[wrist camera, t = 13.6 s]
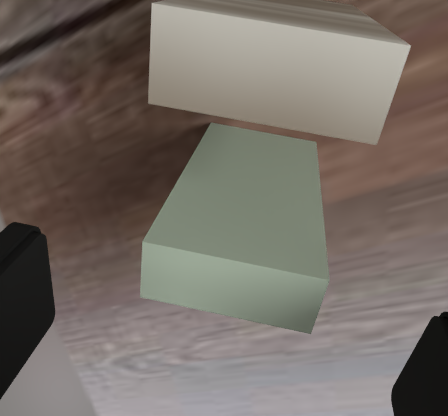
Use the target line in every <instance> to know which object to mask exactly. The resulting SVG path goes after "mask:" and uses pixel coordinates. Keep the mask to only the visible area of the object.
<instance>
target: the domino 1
mask: <svg viewBox="0 0 448 416" xmlns="http://www.w3.org/2000/svg"><path fill="white" fill-rule="evenodd" d="M410 47H411V45H409V44H408V43H406V42H405V41H403V40H402V39H400V38H399V37H398V36H396V35H395V34H393V33H392V32H390V31H389V30H388V29H386V28H385V27H383V26H382V25H380V24H379V23H377V22H376V21H375V20H373V19H372V18H370V17H369V16H367V15H366V14H365V13H363V12H362V11H360V10H359V9H357V8H356V7H354V6H353V5H349V4H343V3H336V2H330V1H324V0H163V1H159V2H154V3H152V12H151V38H150V64H149V91H148V104H154V105H159V106H165V107H170V108H176V109H181V110H187V111H192V112H198V113H203V114H209V115H214V116H220V117H225V118H231V119H236V120H242V121H247V122H253V123H258V124H264V125H269V126H275V127H280V128H286V129H291V130H297V131H302V132H308V133H313V134H319V135H324V136H330V137H335V138H341V139H347V140H352V141H358V142H363V143H369V144H374V145H377V142H378V139H379V137H380V134H381V131H382V128H383V125H384V122H385V119H386V116H387V113H388V111H389V108H390V105H391V102H392V99H393V96H394V93H395V90H396V87H397V85H398V82H399V79H400V76H401V73H402V70H403V67H404V64H405V61H406V59H407V56H408V53H409V50H410Z"/></svg>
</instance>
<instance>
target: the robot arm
mask: <svg viewBox="0 0 448 416" xmlns="http://www.w3.org/2000/svg"><path fill="white" fill-rule="evenodd" d="M54 317H55V305H54V297H53V289H52V281H51V272H50V264H49V256H48V248H47V240H46V236H45V235H44V234H41V231H40V229H39V228H38V227H36V226H31V225H27V224H22V223H17V222H13V223H11V224H9V225H8V226H7V227H6V228H5V229H4V230H3V231H2V232H0V399H1V398H2V396H3V395H4V393H5V392H6V390H7V389H8V388H9V386H10V385H11V383H12V382H13V380H14V379H15V377H16V376H17V374H18V373H19V371H20V370H21V369H22V367H23V366H24V364H25V363H26V361H27V360H28V358H29V357H30V355H31V354H32V352H33V351H34V350H35V348H36V347H37V345H38V344H39V342H40V341H41V339H42V338H43V337H44V335H45V334H46V332H47V331H48V329H49V328H50V326H51V325H52V323H53V320H54ZM391 401H392V407H393V412H394V416H448V312H443V313H441V315H440V316H439V317H438V316H434V317H432V319H431V320H430V322H429V324H428V325H427V327H426V329H425V331H424V333H423V334H422V336H421V338H420V340H419V341H418V343H417V345H416V347H415V349H414V350H413V352H412V354H411V356H410V358H409V359H408V361H407V363H406V365H405V366H404V368H403V370H402V372H401V374H400V375H399V377H398V379H397V381H396V382H395V384H394V386H393V389H392V394H391Z"/></svg>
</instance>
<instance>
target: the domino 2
mask: <svg viewBox="0 0 448 416" xmlns="http://www.w3.org/2000/svg"><path fill="white" fill-rule="evenodd" d="M328 283H329V270H328V260H327V249H326V239H325V228H324V218H323V207H322V197H321V186H320V176H319V165H318V155H317V145H316V142H314V141H308V140H303V139H297V138H292V137H287V136H281V135H276V134H270V133H265V132H260V131H254V130H249V129H243V128H238V127H233V126H227V125H222V124H216V123H211V124H210V125H209V127H208V129H207V131H206V132H205V134H204V136H203V137H202V139H201V141H200V143H199V144H198V146H197V148H196V150H195V151H194V153H193V155H192V157H191V158H190V160H189V162H188V163H187V165H186V167H185V169H184V170H183V172H182V174H181V176H180V177H179V179H178V181H177V183H176V184H175V186H174V188H173V189H172V191H171V193H170V195H169V196H168V198H167V200H166V202H165V203H164V205H163V207H162V209H161V210H160V212H159V214H158V216H157V217H156V219H155V221H154V222H153V224H152V226H151V228H150V229H149V231H148V233H147V235H146V236H145V238H144V240H143V242H142V264H141V289H140V297H142V298H147V299H151V300H156V301H161V302H165V303H170V304H174V305H179V306H184V307H188V308H193V309H198V310H202V311H207V312H211V313H216V314H221V315H225V316H230V317H235V318H239V319H244V320H248V321H253V322H258V323H262V324H267V325H271V326H276V327H281V328H285V329H290V330H295V331H299V332H304V333H308V334H311V332H312V329H313V326H314V323H315V321H316V318H317V315H318V312H319V309H320V306H321V303H322V300H323V298H324V295H325V292H326V289H327V286H328Z"/></svg>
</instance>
